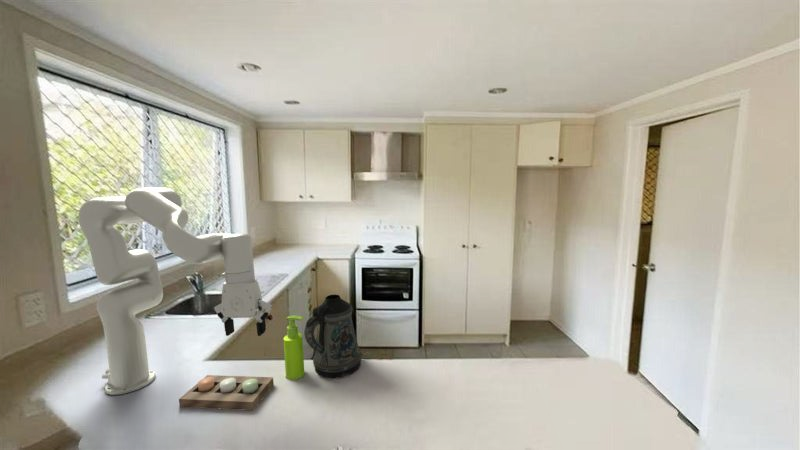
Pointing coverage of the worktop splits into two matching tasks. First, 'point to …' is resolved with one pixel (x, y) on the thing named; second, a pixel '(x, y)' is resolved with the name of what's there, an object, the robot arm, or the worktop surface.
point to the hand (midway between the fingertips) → (245, 333)
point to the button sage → (250, 386)
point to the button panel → (226, 394)
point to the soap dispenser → (293, 350)
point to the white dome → (228, 385)
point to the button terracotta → (206, 384)
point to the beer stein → (333, 339)
